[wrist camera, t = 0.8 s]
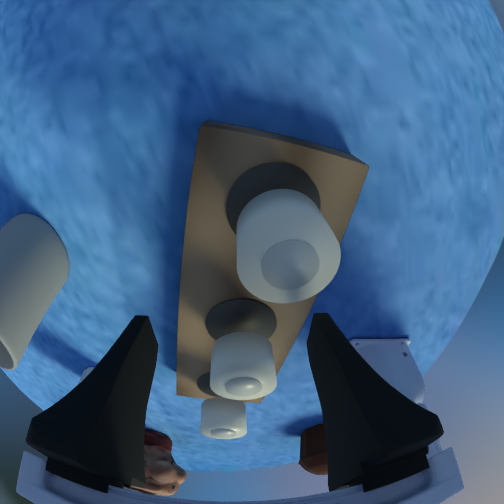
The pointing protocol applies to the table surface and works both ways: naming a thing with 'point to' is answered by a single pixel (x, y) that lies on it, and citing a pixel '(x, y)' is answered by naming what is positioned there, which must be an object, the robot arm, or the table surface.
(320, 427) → the muffin
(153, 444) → the brown ceramic rounded pot
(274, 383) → the knob middle
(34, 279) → the mug
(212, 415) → the knob far
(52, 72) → the table surface
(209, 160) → the knob strip
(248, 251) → the knob near
